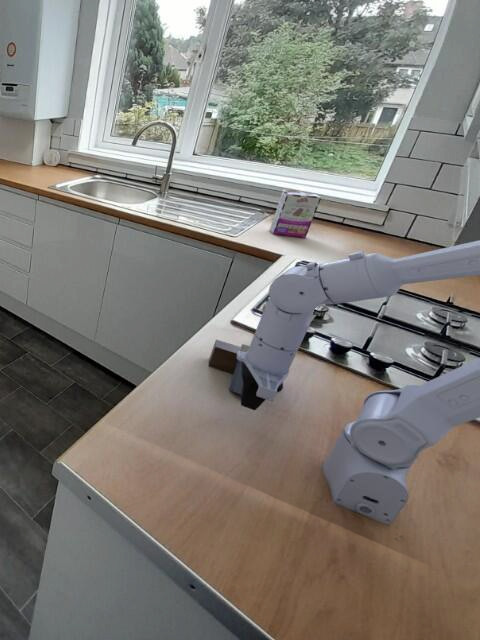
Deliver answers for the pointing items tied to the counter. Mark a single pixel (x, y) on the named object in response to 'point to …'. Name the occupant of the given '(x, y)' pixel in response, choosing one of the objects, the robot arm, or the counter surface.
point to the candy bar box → (295, 214)
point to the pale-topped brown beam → (224, 356)
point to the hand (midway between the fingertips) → (247, 405)
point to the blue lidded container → (238, 374)
